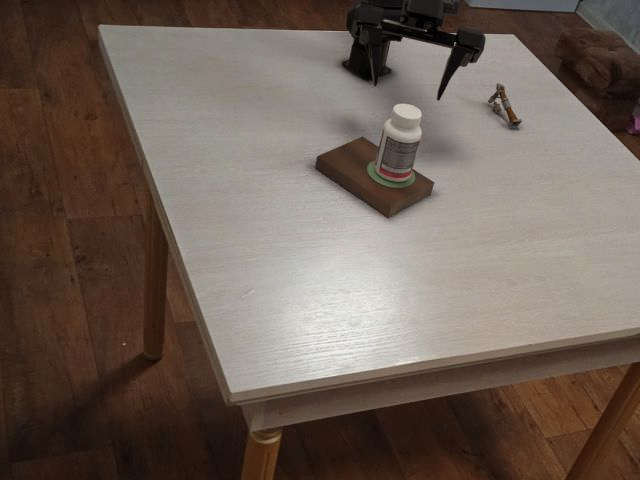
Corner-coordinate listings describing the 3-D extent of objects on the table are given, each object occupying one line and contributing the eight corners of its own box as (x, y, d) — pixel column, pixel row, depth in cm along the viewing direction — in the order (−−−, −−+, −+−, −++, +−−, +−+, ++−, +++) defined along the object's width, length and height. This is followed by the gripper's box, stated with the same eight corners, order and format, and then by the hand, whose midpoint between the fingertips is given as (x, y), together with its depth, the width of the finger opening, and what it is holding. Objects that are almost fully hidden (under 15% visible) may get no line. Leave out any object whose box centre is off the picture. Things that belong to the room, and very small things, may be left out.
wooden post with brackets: (491, 96, 143) (504, 79, 140) (509, 135, 142) (523, 119, 138) (482, 97, 143) (495, 80, 139) (500, 136, 141) (514, 120, 137)
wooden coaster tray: (360, 147, 125) (362, 134, 123) (431, 193, 120) (435, 181, 118) (314, 168, 118) (316, 155, 117) (388, 217, 114) (391, 204, 112)
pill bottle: (417, 179, 118) (434, 118, 111) (387, 186, 115) (402, 124, 108) (397, 158, 121) (412, 98, 114) (366, 164, 118) (380, 102, 111)
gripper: (367, -58, 109) (345, 58, 109) (503, -25, 111) (482, 89, 110) (361, -20, 120) (341, 85, 120) (485, 9, 122) (466, 113, 122)
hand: (406, 92), depth 117 cm, fingers open, 9 cm apart
